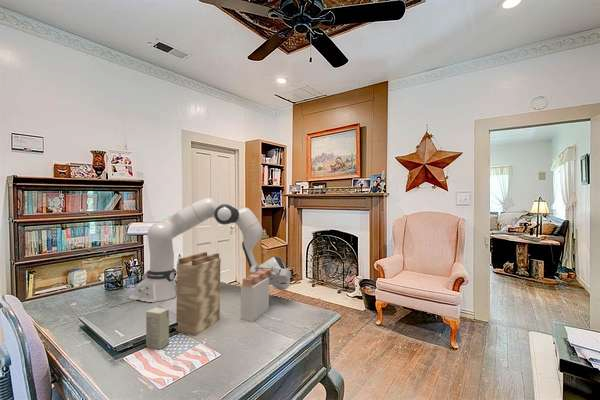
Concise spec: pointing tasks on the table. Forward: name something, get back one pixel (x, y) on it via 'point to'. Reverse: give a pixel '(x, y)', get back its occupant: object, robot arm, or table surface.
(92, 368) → the table surface
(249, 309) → the shelf
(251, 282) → the bar
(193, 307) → the chute stand
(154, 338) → the skincare box
